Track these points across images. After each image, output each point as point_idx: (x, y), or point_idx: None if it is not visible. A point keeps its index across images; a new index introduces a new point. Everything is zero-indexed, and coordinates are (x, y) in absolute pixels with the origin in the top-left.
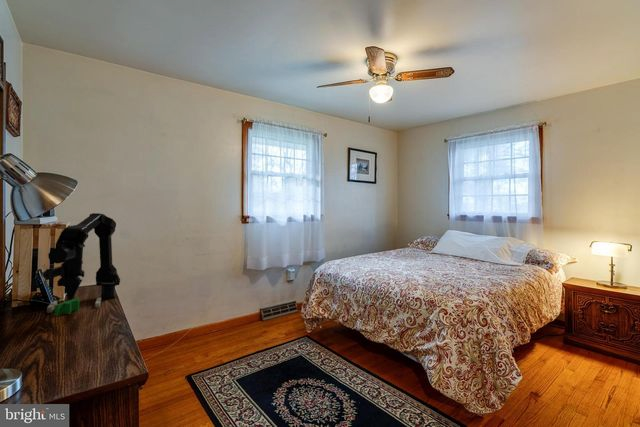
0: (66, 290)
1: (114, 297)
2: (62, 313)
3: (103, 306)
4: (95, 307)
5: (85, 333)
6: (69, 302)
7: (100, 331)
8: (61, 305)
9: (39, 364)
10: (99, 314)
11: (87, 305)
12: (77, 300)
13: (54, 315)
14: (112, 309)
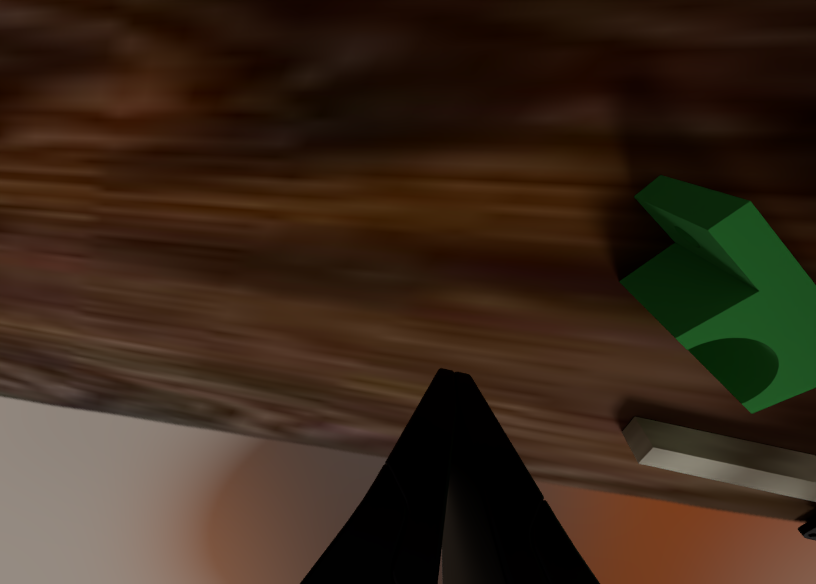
0: (367, 499)
1: (801, 532)
2: (674, 239)
3: None
4: (635, 422)
5: (117, 298)
6: (751, 337)
7: (136, 350)
8: (724, 261)
9: None
10: None
11: None
12: (754, 399)
13: (663, 177)
14: None
